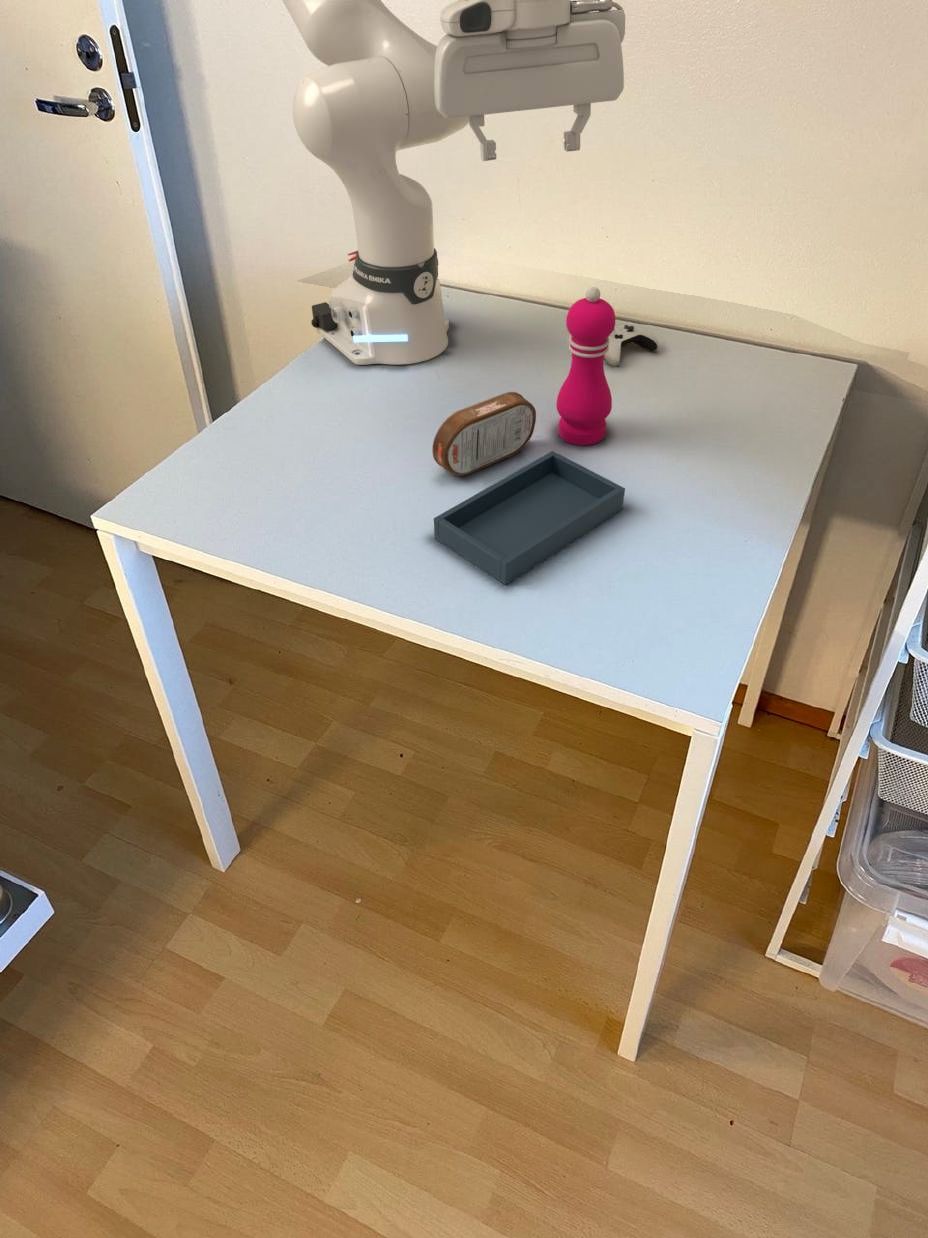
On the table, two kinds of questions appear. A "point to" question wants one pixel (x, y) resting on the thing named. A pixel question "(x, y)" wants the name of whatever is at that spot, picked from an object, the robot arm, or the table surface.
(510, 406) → the tin
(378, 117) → the robot arm
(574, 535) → the tray
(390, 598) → the table surface
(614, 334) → the game controller
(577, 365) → the pepper mill
